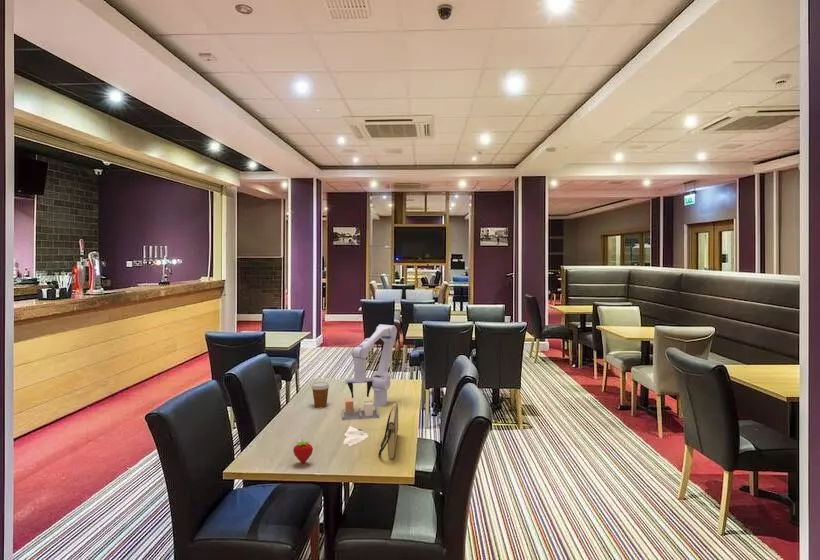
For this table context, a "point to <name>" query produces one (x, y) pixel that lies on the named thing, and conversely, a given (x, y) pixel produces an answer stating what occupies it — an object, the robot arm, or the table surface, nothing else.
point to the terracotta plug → (349, 404)
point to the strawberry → (302, 451)
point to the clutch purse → (391, 431)
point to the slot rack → (358, 415)
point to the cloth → (354, 436)
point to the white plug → (368, 408)
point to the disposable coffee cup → (320, 393)
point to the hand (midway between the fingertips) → (360, 396)
